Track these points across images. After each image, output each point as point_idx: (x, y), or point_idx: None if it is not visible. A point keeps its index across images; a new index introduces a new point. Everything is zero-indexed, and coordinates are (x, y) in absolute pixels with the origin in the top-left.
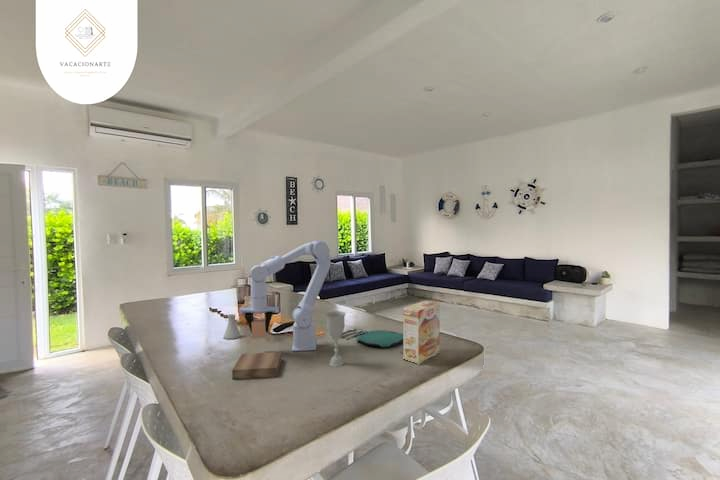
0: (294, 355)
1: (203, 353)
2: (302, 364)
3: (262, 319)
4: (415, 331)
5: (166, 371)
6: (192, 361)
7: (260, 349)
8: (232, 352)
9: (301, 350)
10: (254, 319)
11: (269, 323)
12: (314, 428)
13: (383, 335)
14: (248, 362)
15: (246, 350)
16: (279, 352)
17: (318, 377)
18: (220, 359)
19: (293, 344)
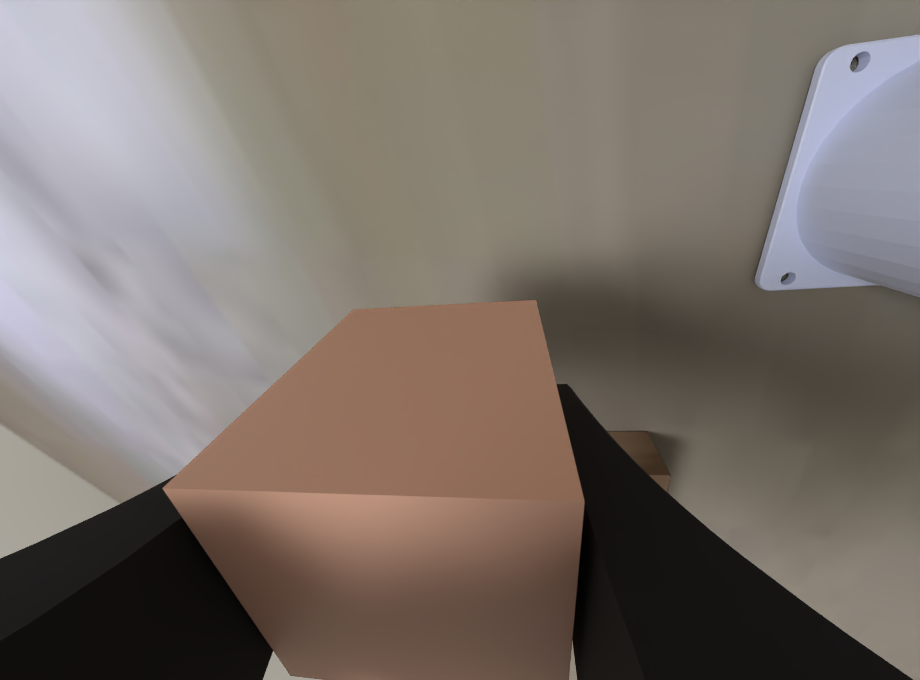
0: (757, 366)
1: (57, 269)
2: (780, 499)
3: (452, 576)
4: None
5: (108, 476)
6: (114, 389)
7: (447, 206)
8: (245, 264)
9: (857, 284)
10: (216, 535)
11: (627, 459)
12: None
13: None
14: None
15: (332, 225)
16: (655, 480)
17: (822, 614)
18: (248, 379)
19: (821, 211)
